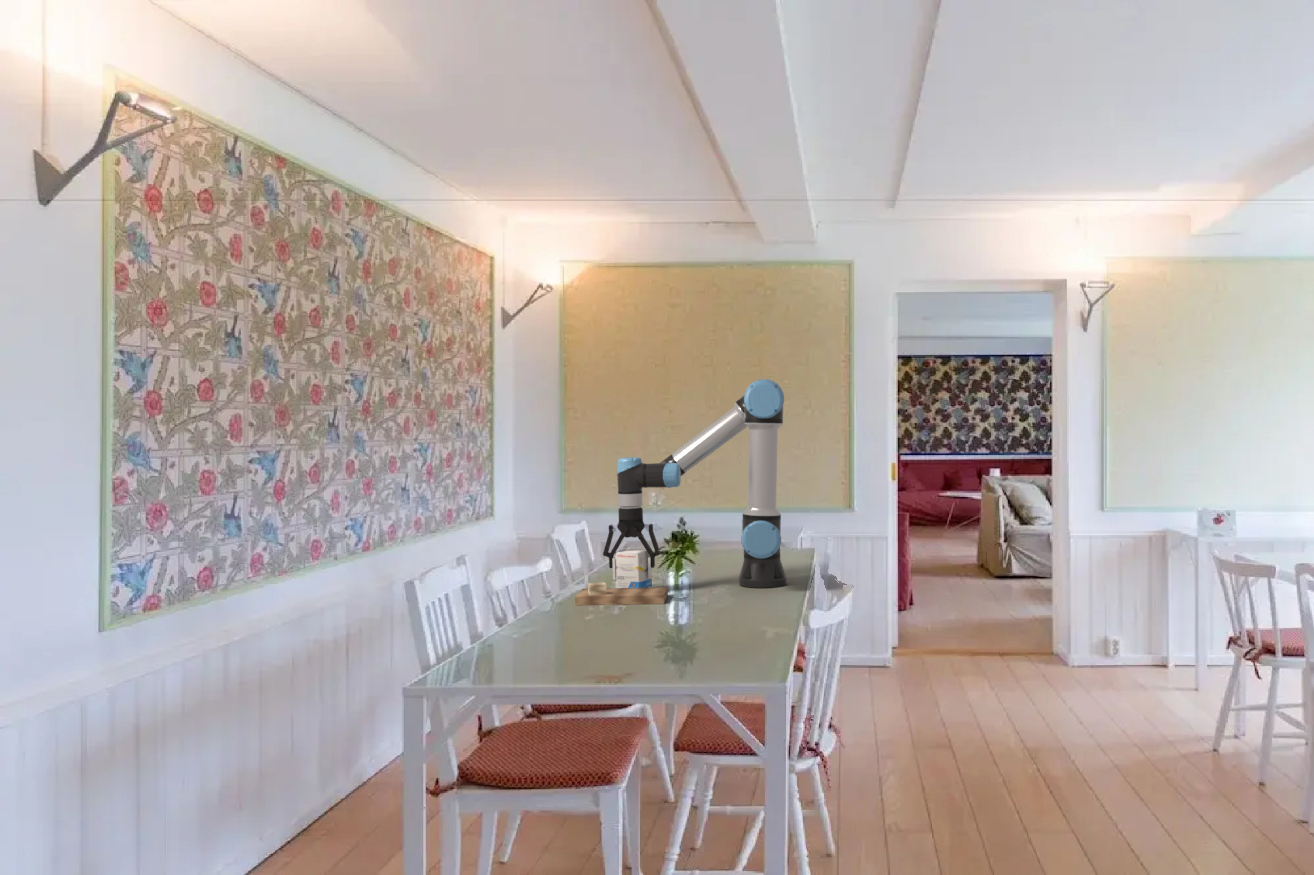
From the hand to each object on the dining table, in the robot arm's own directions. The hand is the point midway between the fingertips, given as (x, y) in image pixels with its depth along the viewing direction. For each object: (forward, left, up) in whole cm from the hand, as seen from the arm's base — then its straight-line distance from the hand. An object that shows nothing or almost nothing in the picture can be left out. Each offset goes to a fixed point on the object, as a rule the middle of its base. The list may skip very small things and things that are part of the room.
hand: (632, 578), depth 315 cm
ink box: (0, -1, -3) cm, 3 cm away
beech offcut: (+9, +15, -2) cm, 18 cm away
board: (+2, +12, -5) cm, 13 cm away
